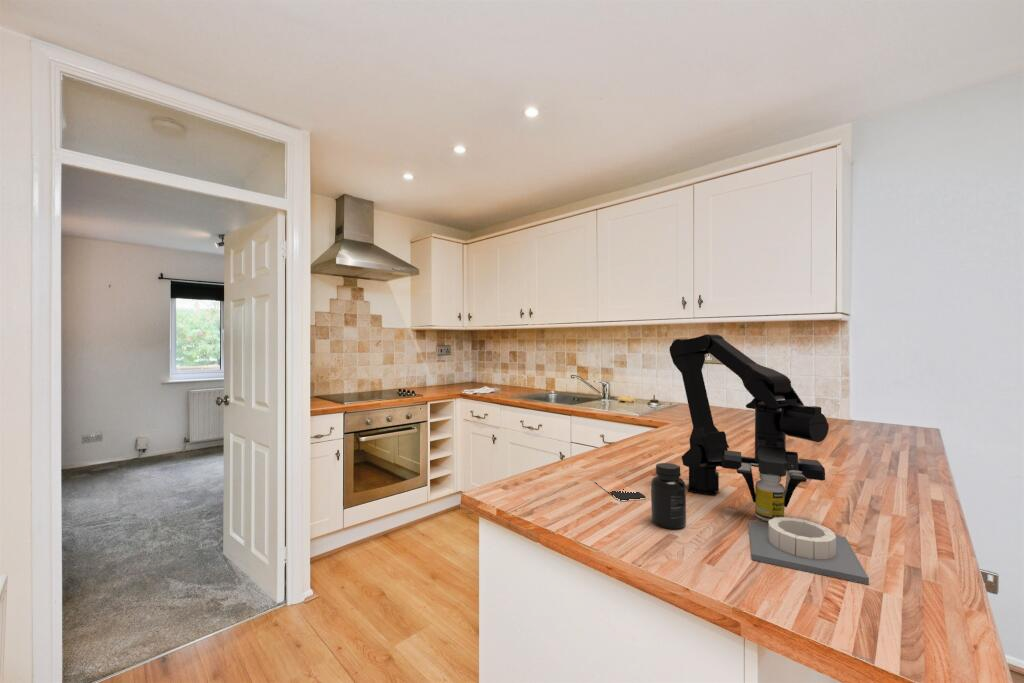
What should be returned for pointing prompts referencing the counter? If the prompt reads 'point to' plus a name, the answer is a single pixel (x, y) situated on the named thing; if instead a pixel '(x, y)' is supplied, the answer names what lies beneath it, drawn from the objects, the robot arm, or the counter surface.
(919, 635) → the counter surface
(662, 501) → the supplement bottle
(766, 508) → the supplement bottle
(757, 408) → the robot arm
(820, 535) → the bottle holder
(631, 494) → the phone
